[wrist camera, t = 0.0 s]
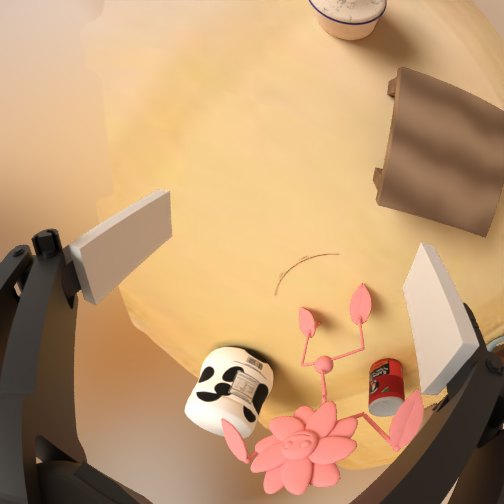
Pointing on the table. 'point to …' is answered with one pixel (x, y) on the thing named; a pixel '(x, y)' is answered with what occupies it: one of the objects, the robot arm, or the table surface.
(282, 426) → the figurine
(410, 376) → the table surface
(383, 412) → the canned food
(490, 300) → the table surface
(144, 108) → the table surface
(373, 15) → the teacup with lid
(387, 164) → the walnut footstool
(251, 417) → the milk container
